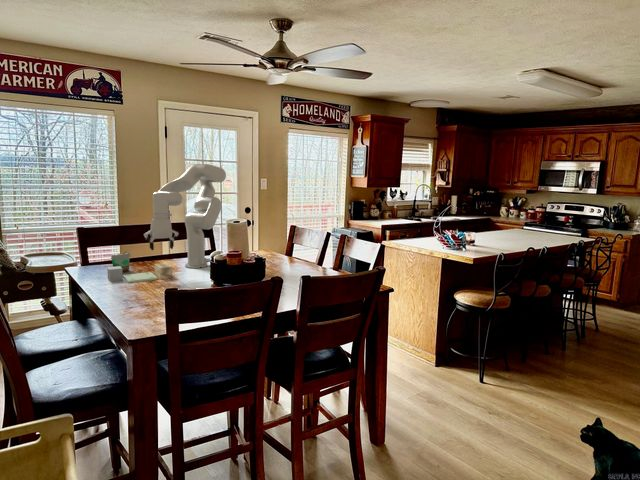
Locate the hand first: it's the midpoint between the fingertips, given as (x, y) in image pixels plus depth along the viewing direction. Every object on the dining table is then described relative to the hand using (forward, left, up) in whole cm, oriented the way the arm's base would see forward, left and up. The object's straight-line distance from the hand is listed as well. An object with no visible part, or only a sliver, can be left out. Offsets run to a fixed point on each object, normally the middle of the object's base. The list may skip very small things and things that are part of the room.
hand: (161, 249), depth 229 cm
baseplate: (+11, -1, -14) cm, 18 cm away
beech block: (0, 0, -15) cm, 15 cm away
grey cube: (+22, -5, -15) cm, 27 cm away
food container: (+15, -21, -15) cm, 30 cm away
